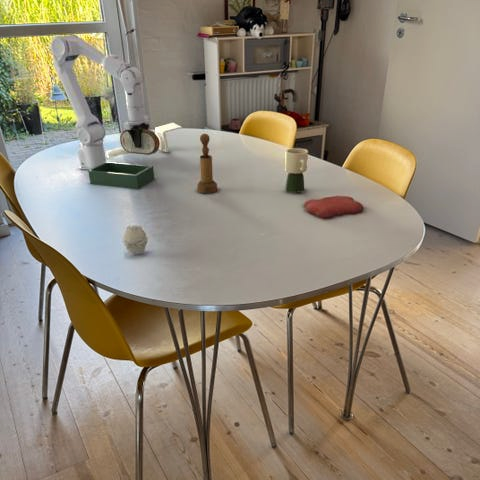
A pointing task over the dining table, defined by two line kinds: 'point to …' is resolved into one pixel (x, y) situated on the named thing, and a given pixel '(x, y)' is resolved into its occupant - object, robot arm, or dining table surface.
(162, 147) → the paper towel holder
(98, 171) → the tote
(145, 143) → the tin
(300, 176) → the character mug
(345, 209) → the patty
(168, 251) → the dining table surface
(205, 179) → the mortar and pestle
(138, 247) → the off-white lumpy ball
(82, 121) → the robot arm
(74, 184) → the dining table surface
